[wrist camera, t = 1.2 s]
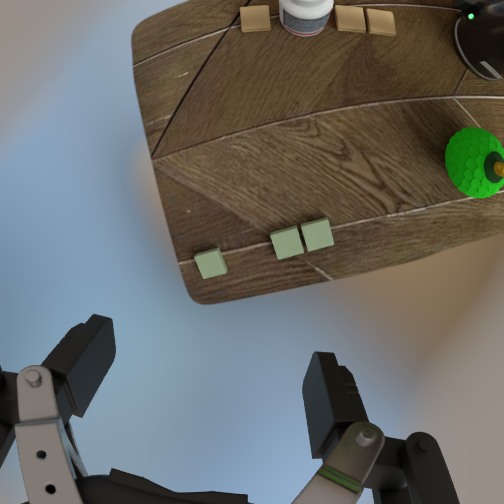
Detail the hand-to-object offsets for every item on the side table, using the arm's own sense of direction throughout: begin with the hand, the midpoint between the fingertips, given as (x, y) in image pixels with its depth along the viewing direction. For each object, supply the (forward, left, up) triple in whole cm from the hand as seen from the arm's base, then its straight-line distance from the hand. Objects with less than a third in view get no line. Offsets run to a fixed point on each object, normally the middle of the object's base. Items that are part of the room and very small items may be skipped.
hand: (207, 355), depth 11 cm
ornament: (-6, +25, -25) cm, 36 cm away
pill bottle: (-22, +6, -25) cm, 34 cm away
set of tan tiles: (-22, +8, -25) cm, 34 cm away
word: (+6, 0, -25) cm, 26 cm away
